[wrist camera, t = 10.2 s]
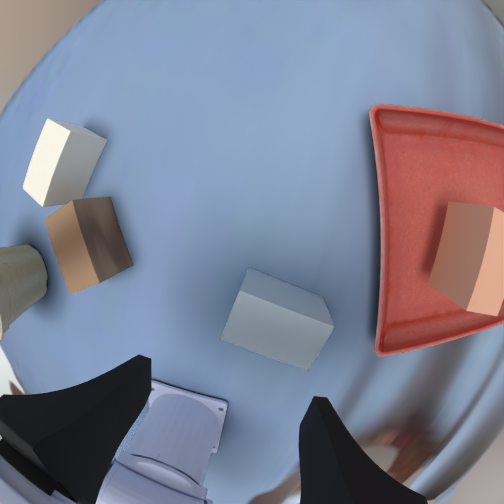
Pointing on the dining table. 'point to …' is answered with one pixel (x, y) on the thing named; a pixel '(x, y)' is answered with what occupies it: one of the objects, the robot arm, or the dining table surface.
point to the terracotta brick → (471, 258)
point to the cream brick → (62, 163)
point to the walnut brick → (87, 242)
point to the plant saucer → (427, 216)
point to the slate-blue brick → (278, 320)
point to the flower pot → (19, 282)
